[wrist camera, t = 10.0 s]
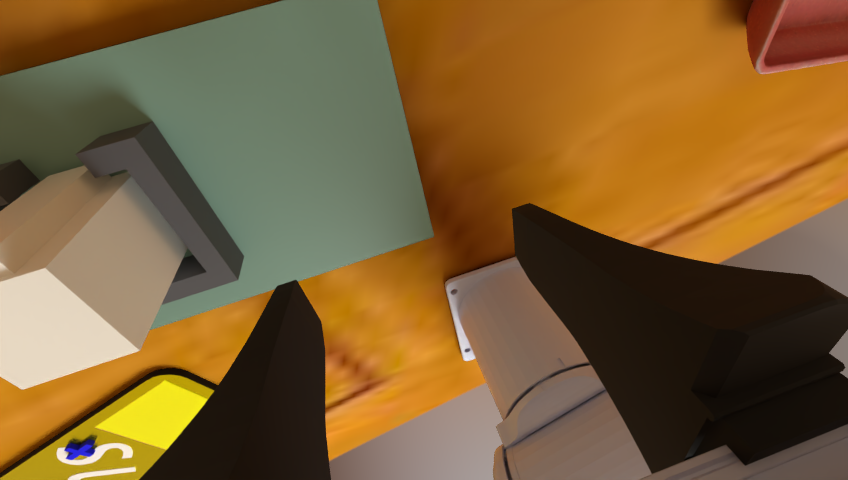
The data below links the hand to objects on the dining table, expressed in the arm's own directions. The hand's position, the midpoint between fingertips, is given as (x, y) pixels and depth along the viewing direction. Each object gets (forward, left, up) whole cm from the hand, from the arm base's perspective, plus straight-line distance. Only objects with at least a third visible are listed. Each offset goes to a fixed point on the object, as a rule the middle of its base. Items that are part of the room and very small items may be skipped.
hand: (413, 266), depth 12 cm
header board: (+1, +7, -9) cm, 12 cm away
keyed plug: (+1, +12, -8) cm, 15 cm away
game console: (-17, +24, -10) cm, 31 cm away
